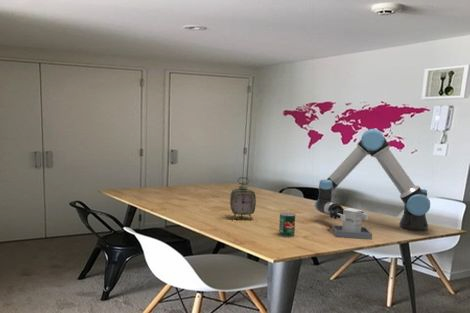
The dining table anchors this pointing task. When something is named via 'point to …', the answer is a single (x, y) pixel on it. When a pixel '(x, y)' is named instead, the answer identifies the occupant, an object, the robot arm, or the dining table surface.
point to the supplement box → (352, 220)
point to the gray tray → (351, 233)
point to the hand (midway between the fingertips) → (356, 217)
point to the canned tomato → (287, 224)
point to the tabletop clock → (242, 200)
